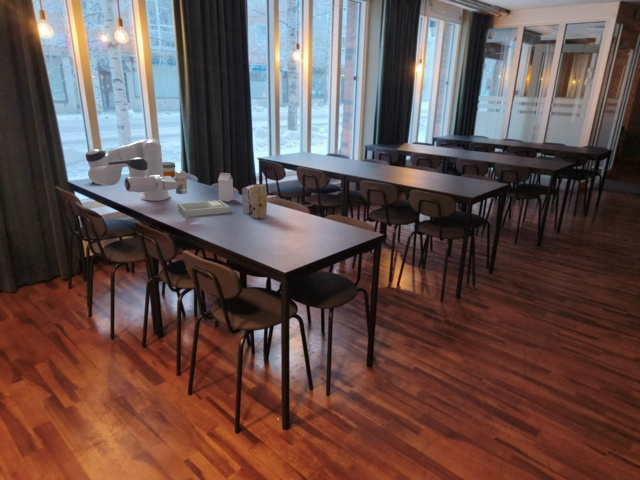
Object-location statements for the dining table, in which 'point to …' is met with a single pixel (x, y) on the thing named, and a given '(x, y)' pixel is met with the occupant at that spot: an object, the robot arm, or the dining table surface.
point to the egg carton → (214, 204)
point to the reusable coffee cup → (168, 169)
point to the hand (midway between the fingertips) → (182, 181)
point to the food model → (259, 201)
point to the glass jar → (181, 177)
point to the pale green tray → (201, 209)
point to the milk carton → (225, 187)
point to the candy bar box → (247, 199)
